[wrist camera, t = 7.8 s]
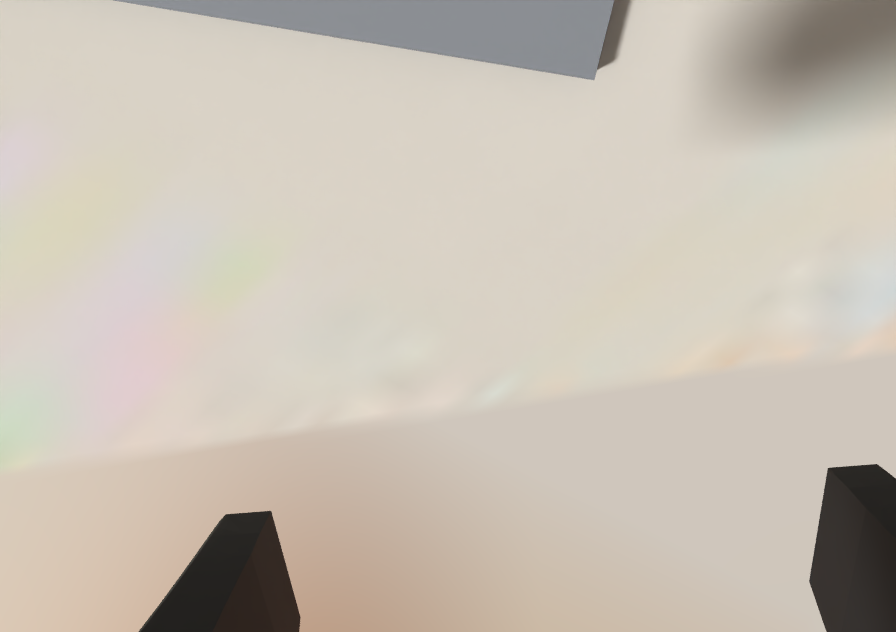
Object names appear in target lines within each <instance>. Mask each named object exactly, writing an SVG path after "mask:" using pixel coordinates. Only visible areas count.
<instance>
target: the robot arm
mask: <svg viewBox="0 0 896 632" xmlns="http://www.w3.org/2000/svg"><path fill="white" fill-rule="evenodd" d="M809 581H810V585H811V588H812V591H813V593H814V596H815V599H816V602H817V605H818V608H819V611H820V614H821V617H822V620H823V623H824V625H825V628H826V631H827V632H896V478H894V477H893V476H892V475H890V474H889V473H888V472H887V471H885V470H884V469H882V468H881V467H880V466H879V465H877V464H874V465H861V466H848V467H834V468H828V471H827V477H826V483H825V489H824V495H823V501H822V507H821V514H820V519H819V526H818V532H817V538H816V544H815V550H814V556H813V562H812V568H811V574H810V580H809ZM299 627H300V614H299V611H298V607H297V603H296V600H295V596H294V593H293V589H292V585H291V582H290V578H289V574H288V571H287V567H286V563H285V560H284V556H283V552H282V549H281V545H280V542H279V538H278V534H277V531H276V527H275V524H274V520H273V517H272V512H271V511H265V512H252V513H239V514H226V515H225V516H224V517H223V518H222V519H221V520H220V521H219V523H218V524H217V526H216V527H215V528H214V530H213V531H212V533H211V534H210V535H209V537H208V538H207V540H206V541H205V542H204V544H203V545H202V547H201V548H200V549H199V551H198V552H197V554H196V555H195V557H194V558H193V559H192V561H191V562H190V563H189V565H188V566H187V568H186V569H185V570H184V572H183V573H182V574H181V576H180V577H179V579H178V580H177V581H176V583H175V584H174V585H173V587H172V588H171V590H170V591H169V592H168V594H167V595H166V596H165V598H164V599H163V600H162V602H161V603H160V604H159V606H158V607H157V608H156V610H155V611H154V612H153V614H152V615H151V616H150V618H149V619H148V620H147V621H146V623H145V624H144V626H143V627H142V628H141V629H140V631H139V632H299Z"/></svg>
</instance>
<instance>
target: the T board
mask: <svg viewBox="0 0 896 632" xmlns="http://www.w3.org/2000/svg"><path fill="white" fill-rule="evenodd" d="M115 1H121V2H127V3H133V4H139V5H145V6H151V7H157V8H163V9H169V10H175V11H181V12H187V13H193V14H199V15H205V16H211V17H217V18H223V19H229V20H235V21H241V22H247V23H253V24H259V25H265V26H271V27H277V28H283V29H289V30H295V31H301V32H307V33H313V34H319V35H325V36H331V37H337V38H343V39H349V40H355V41H362V42H368V43H374V44H380V45H386V46H392V47H398V48H404V49H410V50H416V51H422V52H428V53H434V54H440V55H446V56H452V57H458V58H464V59H470V60H476V61H482V62H488V63H494V64H500V65H506V66H512V67H518V68H524V69H530V70H536V71H542V72H548V73H554V74H560V75H566V76H572V77H578V78H584V79H590V80H594V79H595V75H596V71H597V67H598V63H599V59H600V55H601V51H602V47H603V43H604V39H605V35H606V31H607V27H608V23H609V19H610V15H611V11H612V7H613V3H614V0H115Z"/></svg>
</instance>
